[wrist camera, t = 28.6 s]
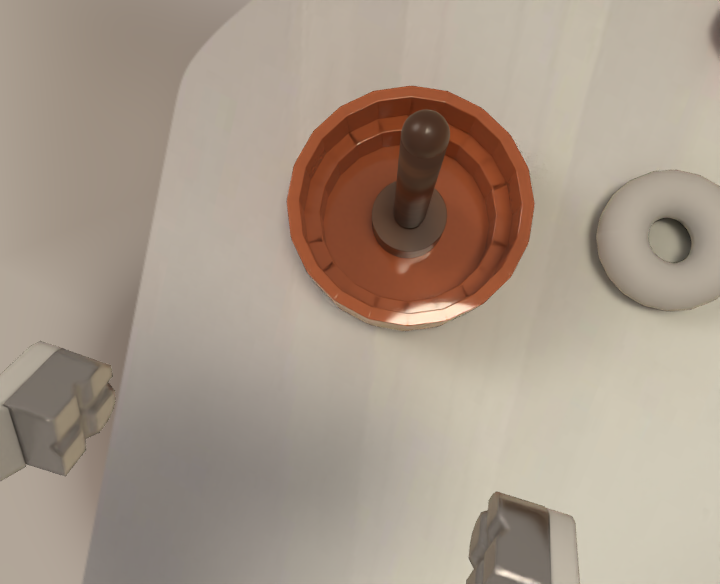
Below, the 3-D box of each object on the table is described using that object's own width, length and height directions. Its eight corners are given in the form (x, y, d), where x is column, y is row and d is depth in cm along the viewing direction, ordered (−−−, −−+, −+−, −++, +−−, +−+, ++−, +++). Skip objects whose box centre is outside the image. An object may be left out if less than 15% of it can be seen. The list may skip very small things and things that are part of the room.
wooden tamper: (377, 262, 41) (375, 191, 24) (367, 194, 42) (359, 76, 25) (448, 253, 41) (497, 174, 24) (437, 184, 42) (477, 60, 25)
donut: (745, 296, 41) (705, 164, 42) (779, 290, 37) (735, 147, 38) (609, 326, 41) (573, 194, 42) (630, 324, 37) (590, 180, 38)
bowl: (313, 343, 41) (303, 340, 35) (289, 140, 43) (275, 104, 37) (527, 315, 41) (553, 306, 35) (493, 111, 43) (511, 71, 37)
